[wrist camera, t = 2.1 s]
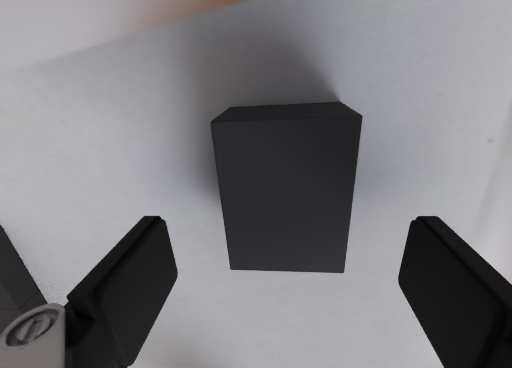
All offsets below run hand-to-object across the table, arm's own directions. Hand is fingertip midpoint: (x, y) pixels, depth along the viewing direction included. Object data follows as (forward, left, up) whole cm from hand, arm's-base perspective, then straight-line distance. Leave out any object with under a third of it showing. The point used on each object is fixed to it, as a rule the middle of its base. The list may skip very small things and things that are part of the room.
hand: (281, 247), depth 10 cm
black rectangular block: (-1, 0, -6) cm, 6 cm away
